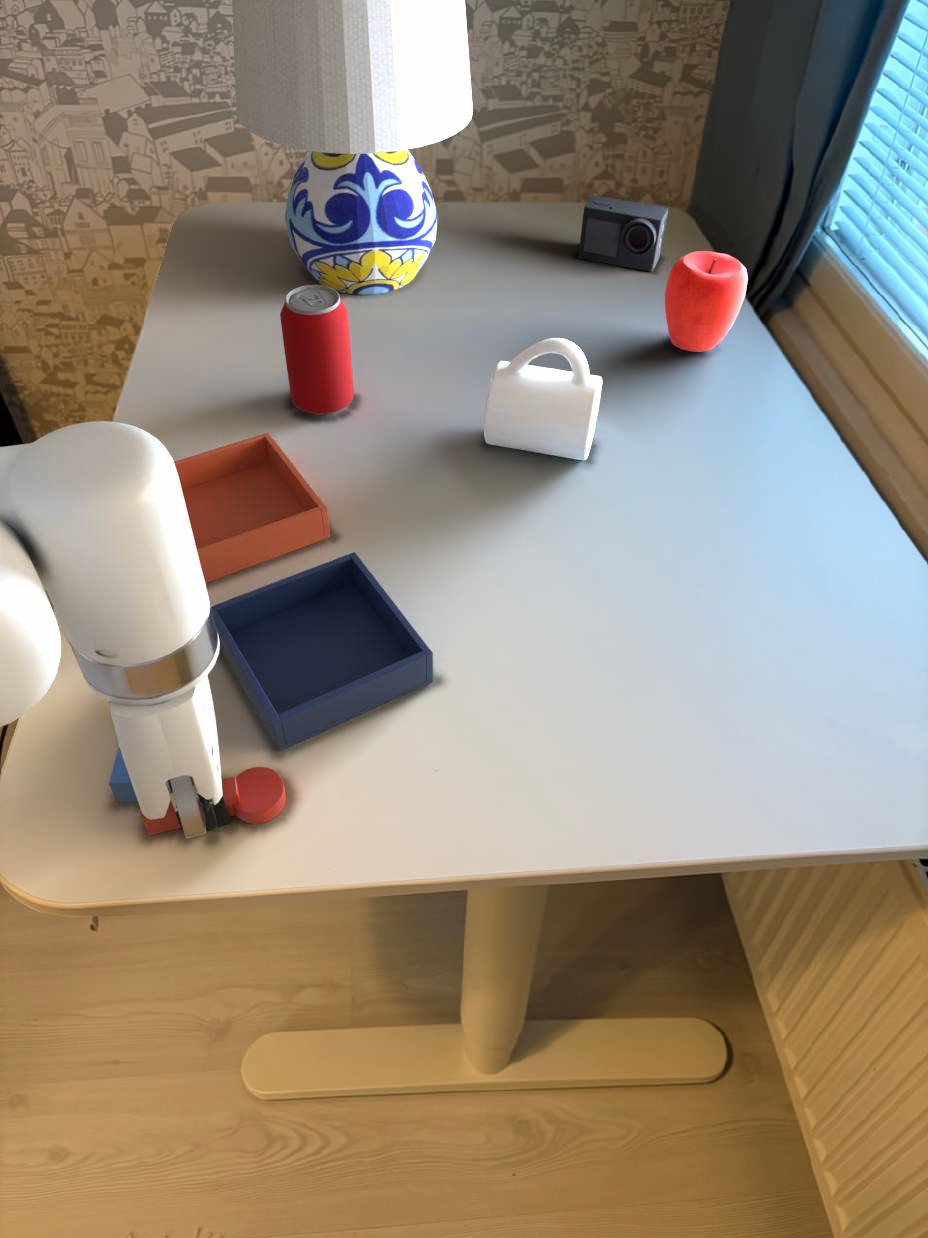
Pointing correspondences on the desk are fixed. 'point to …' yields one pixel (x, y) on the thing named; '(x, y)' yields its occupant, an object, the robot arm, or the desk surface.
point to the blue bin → (320, 649)
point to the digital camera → (622, 232)
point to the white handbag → (543, 403)
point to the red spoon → (238, 800)
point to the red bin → (248, 505)
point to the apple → (703, 299)
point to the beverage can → (317, 349)
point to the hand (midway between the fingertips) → (205, 811)
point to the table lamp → (355, 123)
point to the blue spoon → (122, 781)
